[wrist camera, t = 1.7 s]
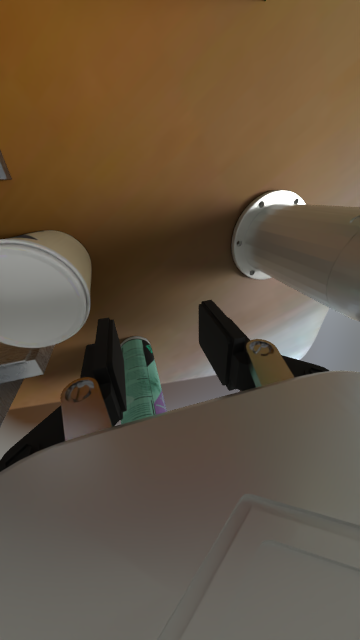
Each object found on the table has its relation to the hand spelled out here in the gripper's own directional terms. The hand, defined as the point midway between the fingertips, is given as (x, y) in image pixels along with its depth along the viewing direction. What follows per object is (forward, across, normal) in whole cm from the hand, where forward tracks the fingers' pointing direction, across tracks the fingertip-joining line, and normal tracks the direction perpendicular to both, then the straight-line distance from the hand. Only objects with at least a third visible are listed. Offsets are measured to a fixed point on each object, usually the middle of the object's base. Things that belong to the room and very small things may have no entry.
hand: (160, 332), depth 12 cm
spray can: (+20, +2, +16) cm, 25 cm away
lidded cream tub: (+20, +10, 0) cm, 22 cm away
